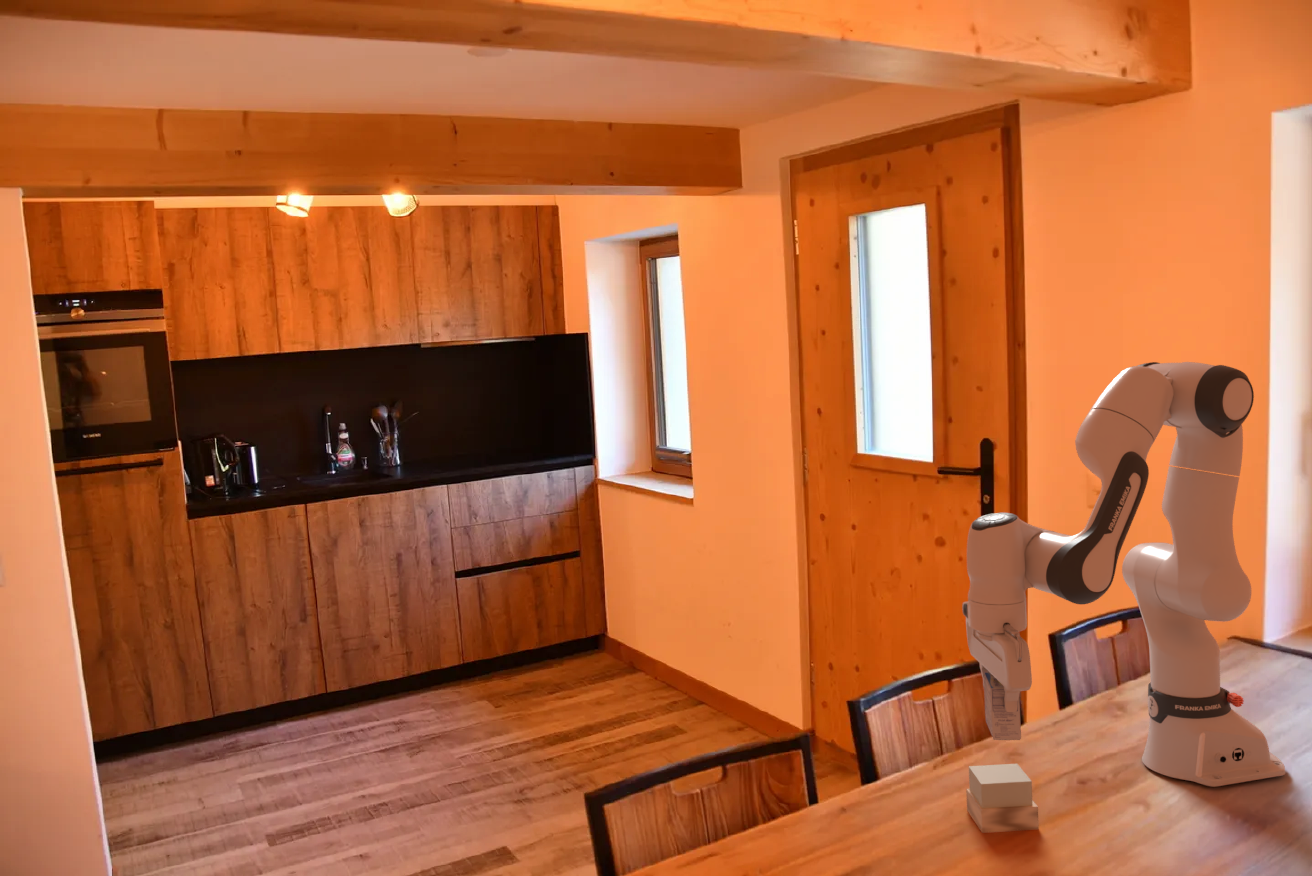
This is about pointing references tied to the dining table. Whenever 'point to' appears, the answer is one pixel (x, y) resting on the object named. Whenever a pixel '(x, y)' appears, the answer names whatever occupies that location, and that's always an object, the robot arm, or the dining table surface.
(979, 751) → the dining table surface
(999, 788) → the tower top
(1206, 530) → the robot arm
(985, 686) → the medicine box
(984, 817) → the tower base
